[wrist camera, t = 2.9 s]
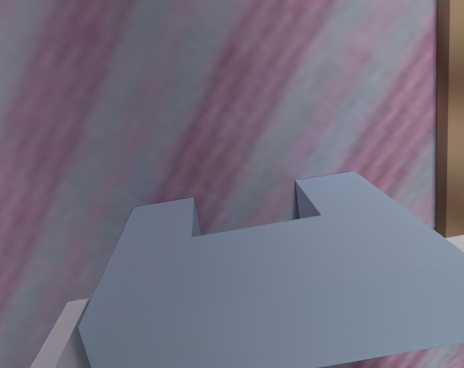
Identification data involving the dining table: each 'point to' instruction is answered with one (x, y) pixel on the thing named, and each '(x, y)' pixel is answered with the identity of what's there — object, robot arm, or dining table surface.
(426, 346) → the gray u-shaped block
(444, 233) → the walnut notched stand
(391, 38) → the dining table surface
